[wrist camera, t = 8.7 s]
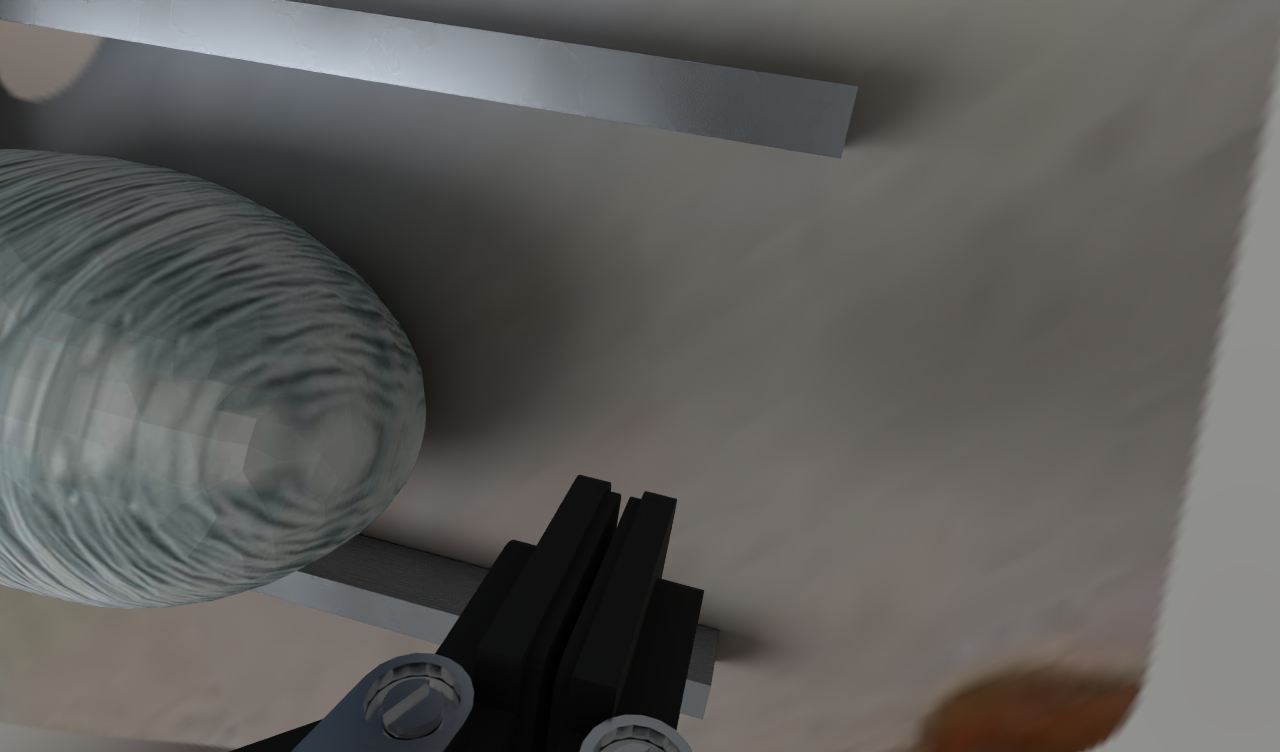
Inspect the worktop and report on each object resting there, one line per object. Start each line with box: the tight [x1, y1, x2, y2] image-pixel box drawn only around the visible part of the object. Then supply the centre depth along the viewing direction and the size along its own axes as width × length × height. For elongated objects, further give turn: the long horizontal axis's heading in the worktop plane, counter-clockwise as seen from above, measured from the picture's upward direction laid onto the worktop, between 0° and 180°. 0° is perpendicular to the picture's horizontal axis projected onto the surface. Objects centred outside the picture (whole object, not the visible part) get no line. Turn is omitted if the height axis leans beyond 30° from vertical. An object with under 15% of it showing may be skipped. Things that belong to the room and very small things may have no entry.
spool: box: [0, 149, 426, 609], centre depth 16 cm, size 14×10×10 cm
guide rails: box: [0, 0, 859, 719], centre depth 18 cm, size 15×22×2 cm
